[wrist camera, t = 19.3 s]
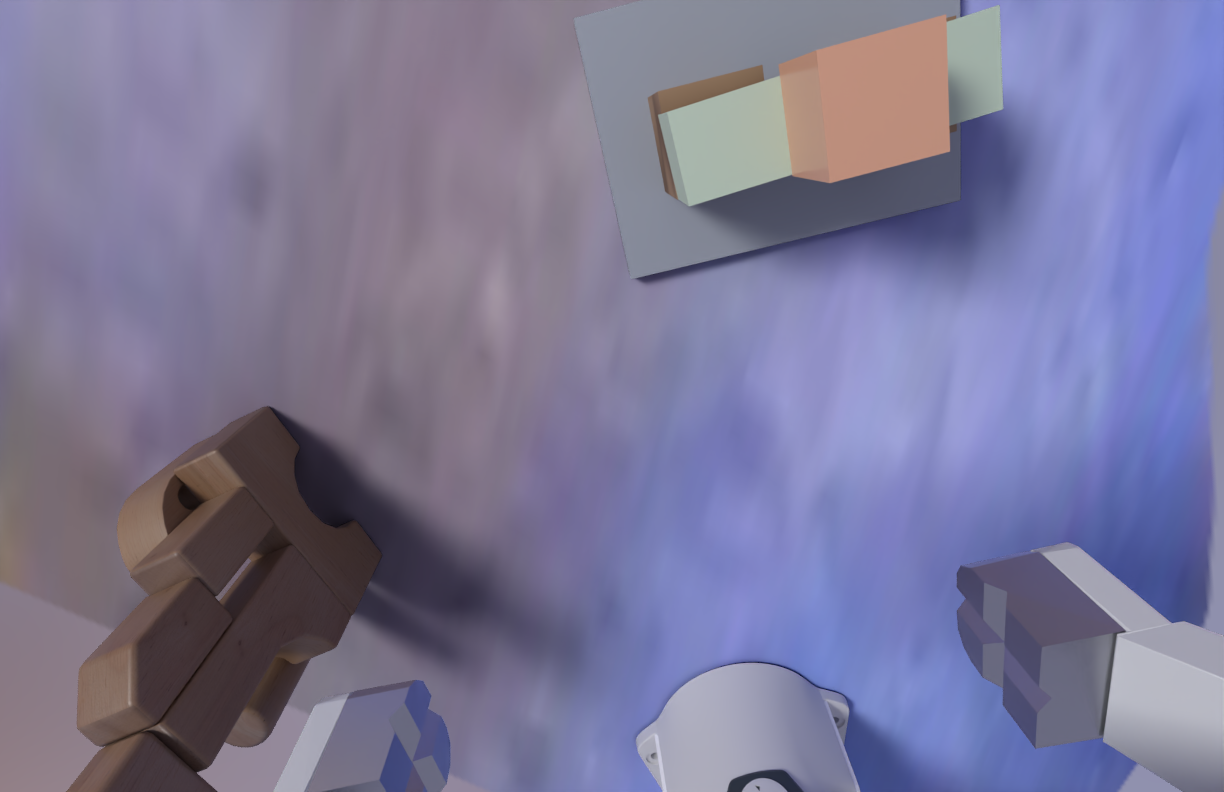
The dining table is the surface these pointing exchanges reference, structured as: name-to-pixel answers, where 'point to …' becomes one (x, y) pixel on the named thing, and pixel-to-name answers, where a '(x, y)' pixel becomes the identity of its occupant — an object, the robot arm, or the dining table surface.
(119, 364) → the dining table surface
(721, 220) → the board
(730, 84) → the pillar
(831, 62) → the cube
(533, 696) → the dining table surface
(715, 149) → the plank
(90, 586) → the dining table surface
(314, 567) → the wooden toy
